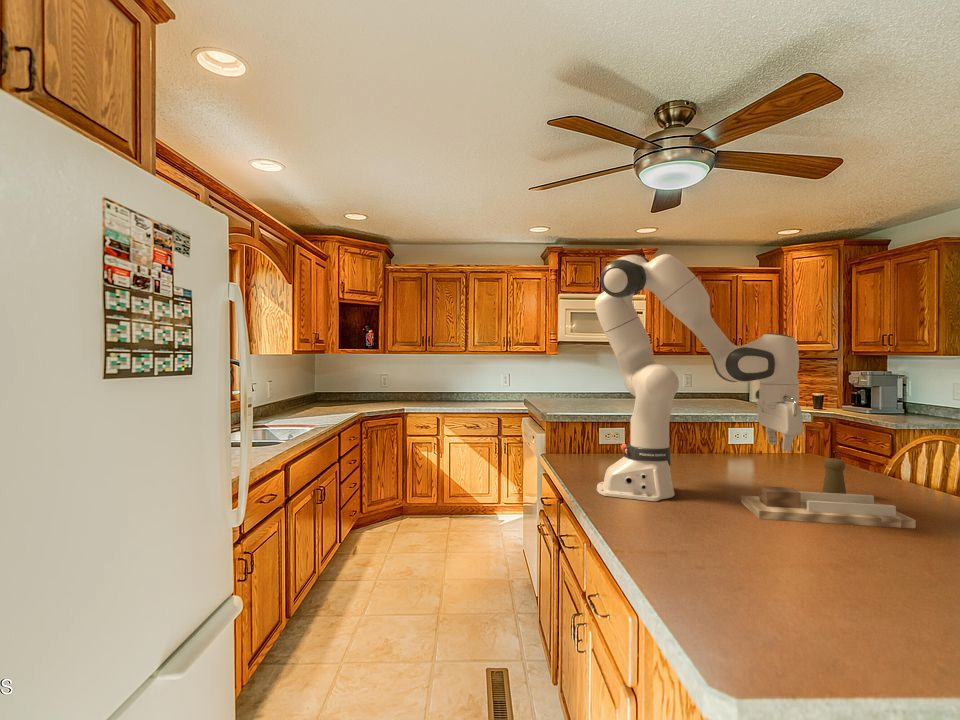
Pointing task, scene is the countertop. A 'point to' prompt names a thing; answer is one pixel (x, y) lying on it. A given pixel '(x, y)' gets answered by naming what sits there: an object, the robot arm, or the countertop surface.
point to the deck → (824, 515)
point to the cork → (834, 476)
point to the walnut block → (780, 497)
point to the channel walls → (845, 504)
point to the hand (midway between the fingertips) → (779, 447)
